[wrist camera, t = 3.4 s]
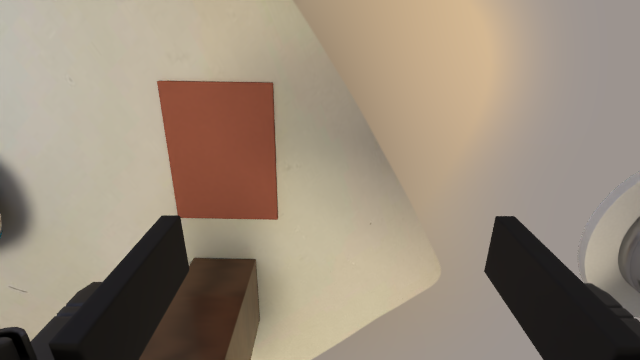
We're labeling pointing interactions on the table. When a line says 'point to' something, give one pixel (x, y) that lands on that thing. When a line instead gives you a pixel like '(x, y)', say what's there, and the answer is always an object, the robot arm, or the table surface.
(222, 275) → the stand
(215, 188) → the mat
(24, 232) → the table surface
